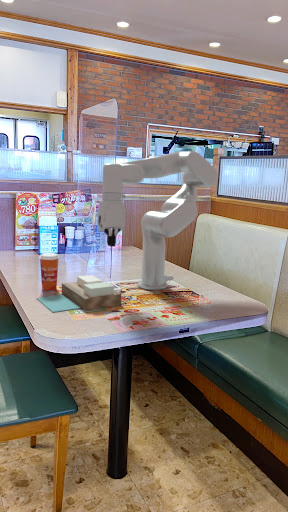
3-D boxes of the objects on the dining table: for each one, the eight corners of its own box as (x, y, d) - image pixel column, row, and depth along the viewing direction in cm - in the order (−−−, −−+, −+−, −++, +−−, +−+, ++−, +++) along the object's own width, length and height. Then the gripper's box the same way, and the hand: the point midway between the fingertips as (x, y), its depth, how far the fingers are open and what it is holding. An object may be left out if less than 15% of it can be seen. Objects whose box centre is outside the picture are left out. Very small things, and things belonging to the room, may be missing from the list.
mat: (62, 295, 153) (62, 294, 153) (80, 308, 139) (80, 307, 139) (36, 298, 148) (36, 297, 148) (52, 312, 134) (52, 311, 134)
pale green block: (83, 292, 144) (83, 284, 143) (106, 289, 148) (106, 281, 148) (90, 297, 139) (90, 288, 138) (113, 294, 143) (114, 285, 143)
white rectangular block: (91, 282, 158) (91, 275, 157) (101, 288, 150) (102, 280, 150) (77, 284, 154) (77, 276, 154) (87, 290, 147) (87, 282, 146)
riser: (94, 289, 163) (94, 279, 162) (121, 304, 145) (121, 293, 144) (61, 293, 155) (61, 283, 155) (85, 310, 137) (85, 299, 137)
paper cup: (39, 292, 156) (39, 256, 154) (39, 286, 164) (38, 252, 161) (60, 291, 158) (60, 256, 156) (58, 285, 166) (58, 252, 163)
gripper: (125, 197, 158) (123, 243, 161) (89, 196, 150) (89, 245, 153) (134, 198, 151) (133, 246, 155) (98, 198, 144) (97, 248, 147)
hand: (111, 245), depth 154 cm, fingers closed
